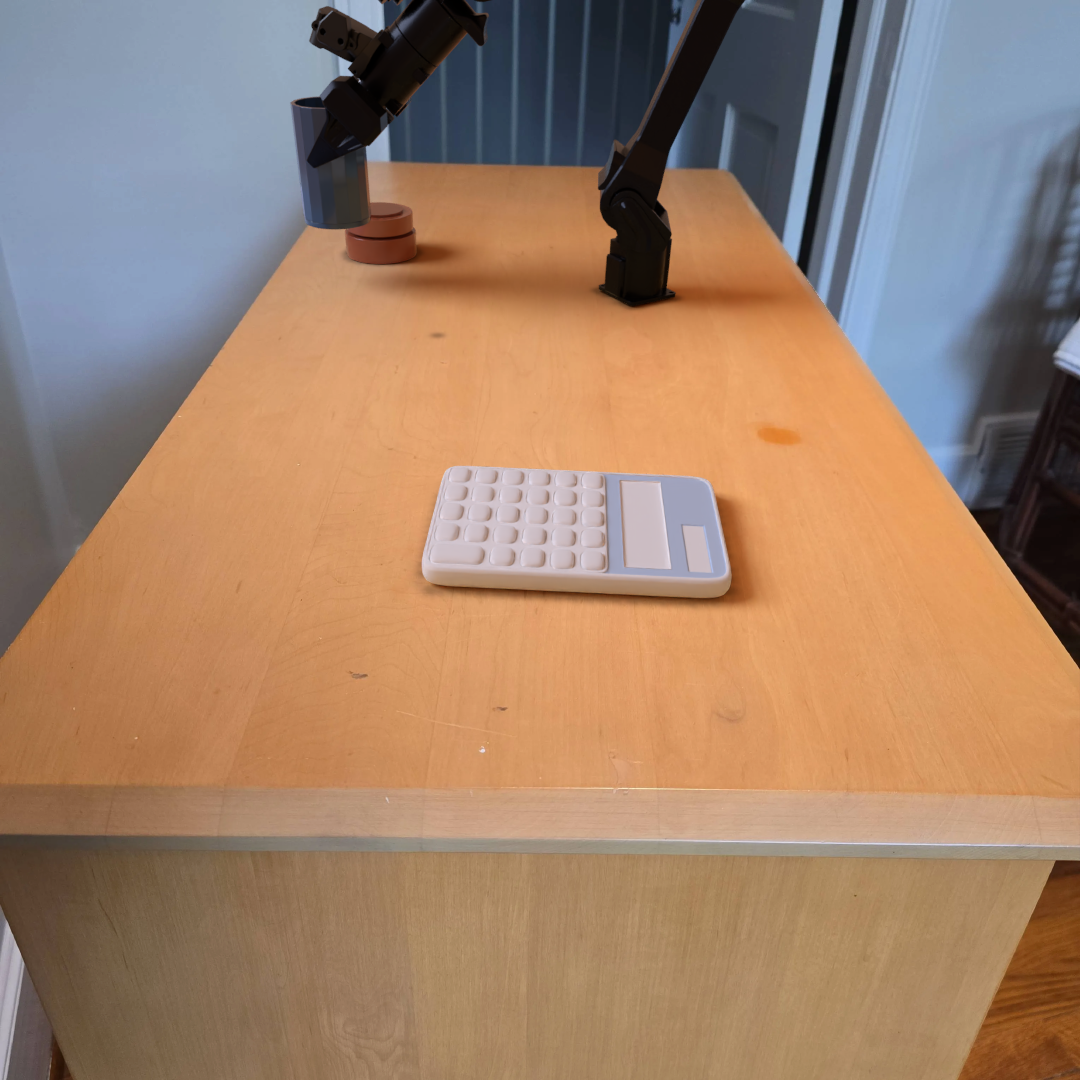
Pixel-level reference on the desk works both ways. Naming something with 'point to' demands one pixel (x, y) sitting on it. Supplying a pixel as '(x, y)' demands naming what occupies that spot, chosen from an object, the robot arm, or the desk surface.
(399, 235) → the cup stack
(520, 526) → the calculator
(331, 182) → the tumbler
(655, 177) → the robot arm
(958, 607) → the desk surface
